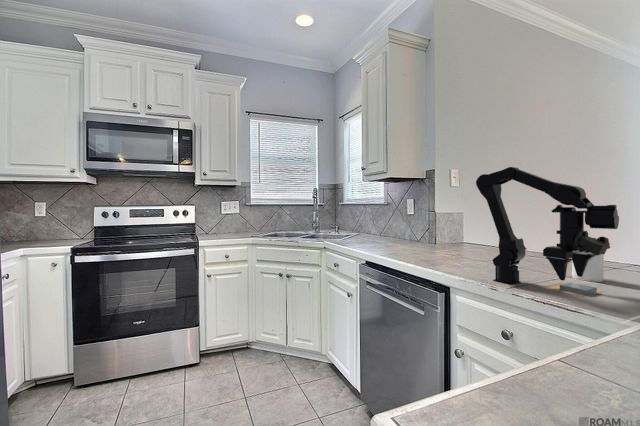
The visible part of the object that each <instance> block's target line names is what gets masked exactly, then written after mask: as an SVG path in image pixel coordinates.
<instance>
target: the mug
mask: <svg viewBox="0 0 640 426" xmlns="http://www.w3.org/2000/svg"><path fill="white" fill-rule="evenodd" d="M591 254H592V253H591ZM604 259H605V254H604V255H603V254H600V255H596V256H595V257H593V258H591V259H590V260H589V261H588V263H587V266H586V268H585V271H584V273H583V276H582V277H579V276H577V273H576V271H575V267H574V264H573V261H572V260H571V277H572V278H573V279H574V280H575V279H576V280H581V281H585V282H593V283H601V282H603V281H604V279H605V278H604V276H605V275H604V271H605V268H604V267H605V266H604V263H605V260H604Z"/></svg>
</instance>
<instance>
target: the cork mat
mask: <svg viewBox="0 0 640 426" xmlns="http://www.w3.org/2000/svg"><path fill="white" fill-rule="evenodd" d="M562 284H565V283H563V282H556V283H553V284H548V285H543V286H541V288H543V289H547V290H550V291H551V290H552V291H555V292H561V293H564V294H565V293H566V294H569V295H574V296H579V297H582V298H585V297H589V296H592V295H596V294H600V293H604V290H598V289H597V293H594V294H591V295H587V296H585V295H580V294H576V293H571V292H567V291H562V290H560V285H562Z"/></svg>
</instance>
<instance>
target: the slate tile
mask: <svg viewBox="0 0 640 426" xmlns="http://www.w3.org/2000/svg"><path fill="white" fill-rule="evenodd" d="M560 290H562V291H567V292H571V293H576V294H580V295H585V297H588V296H587V295H589V296H592V295H591V294H593V295H595V294H594V293H597V290H598V287H596V286H591V285H587V284H579V283H575V282H567V283H564V284H562V285H560ZM597 294H598V293H597Z"/></svg>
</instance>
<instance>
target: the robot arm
mask: <svg viewBox="0 0 640 426" xmlns="http://www.w3.org/2000/svg"><path fill="white" fill-rule="evenodd" d="M511 181H515V182H518V183H520V184H523V185H525V186H528V187H530V188H533V189H535V190H538V191H540V192H543V193H545V194H546V195H548V196H550V197H551V199H554V200H556V201H557V202H558V203H560V204H557V205H556V207H554V208H553V209H552V210H551V213H559V229H558V230H556V234H557V235H559V243H556V246H554V245H553V246H552V245H551V246H546V247H545V248H544V249H543V250H542V257H545V258H546V259H547V260H548V262H549V263H550V264H551V266H552V268H553V270H554V271H555V273H556V275H557V277H558V279H559V280H560V281H565V280H566V277H567V268H568V265H569V263H570V262H572V261H573V264H574V267H575V271H576V273H577V276H579V277H582V276H583V273H584V271H585V268H586V266H587V263H588V261H589V260H590V259H591V258H593V257H595V256H596V255H600V254H603V255H604V256H605V254H606V252H607V250H610V248H611V246H610V244H611V243H610V241H609V238H608V237H606V236H599V237H597V238H596V237H592V236H589V232H588V231H587V230H585V226H584V225H587V226H589V228H590V229H601V230H602V229H606V230H607V229H608V230H618V228H619V222H620V216H619V212H618V209H617V205H616V204H607V205H595V204H594V203H593V202H591V200H589V199H588V197H587V193H586V191H585V189H584V188H582V187H581V186H576V185H573V184H566V183H559V182H556V181H552V180H549V179H547V178H544V177H541V176H538V175H536V174H533V173H531V172H528V171H525V170H523V169H520V168H518V167H515V166H509V167H506V168H504V169H501V170H499V171H495V172H491V173H489V174H487V173H486V174H480V175H479V176H478V177H477V179H476V181H475V185H476V188H477V189H478V191H479V193H480V195H482V196H483V198H484V199H485V200H486V202H487V206H488V208H489V210H490V214H491V217H492V220H493V223H494V226H495V229H496V232H497V234H498V237H499V239H498V251H499V254H497V255H496V256H495V257H494V258H493V259H492V263H493V266H495V271H494V272H495V274H494V276H495V278H494V279H492V281H493V282H495V283H496V282H497V283H501V284H503V285H504V284H505V285H509V286H510V285H515V284H516V285H517V284H520V283H521V281H520V271H519V267H518V265H519V264H520V262H521V261H522V260H523V259H524V258H525V256H526V251H527V250H528V249H527V247H526V246H525V242H524V239H523V238H518V237H517V236H516V235H515V234H514V231H513V230H514V229H513V228H512V225H511V222H510V220H509V217H508V213H507V211H506V207H505V205H504V202H503V200H502V199H503V198H502V196H501V195H502V185H503V184H506V183H508V182H511ZM577 209H579V210H577ZM580 209H583V210H580ZM584 209H585V210H584ZM591 253H592V254H591Z"/></svg>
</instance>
